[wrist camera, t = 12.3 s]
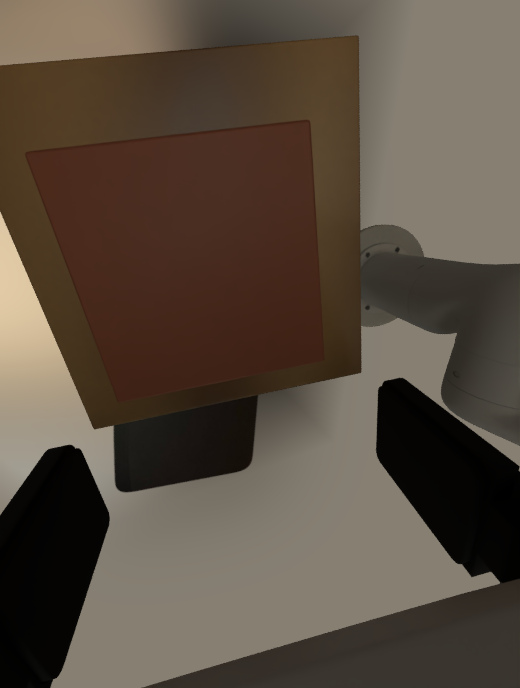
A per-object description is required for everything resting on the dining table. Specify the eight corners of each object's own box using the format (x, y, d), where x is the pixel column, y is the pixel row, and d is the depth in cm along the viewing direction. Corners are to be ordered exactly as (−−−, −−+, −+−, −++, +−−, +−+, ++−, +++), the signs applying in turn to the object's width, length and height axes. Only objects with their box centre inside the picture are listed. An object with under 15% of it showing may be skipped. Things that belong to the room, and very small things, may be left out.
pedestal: (230, 194, 45) (359, 34, 8) (241, 261, 49) (362, 373, 12) (164, 203, 44) (-63, 68, 7) (180, 271, 48) (93, 430, 10)
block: (274, 155, 8) (311, 118, 5) (291, 323, 10) (325, 361, 7) (89, 179, 8) (21, 150, 5) (143, 351, 10) (117, 404, 7)
